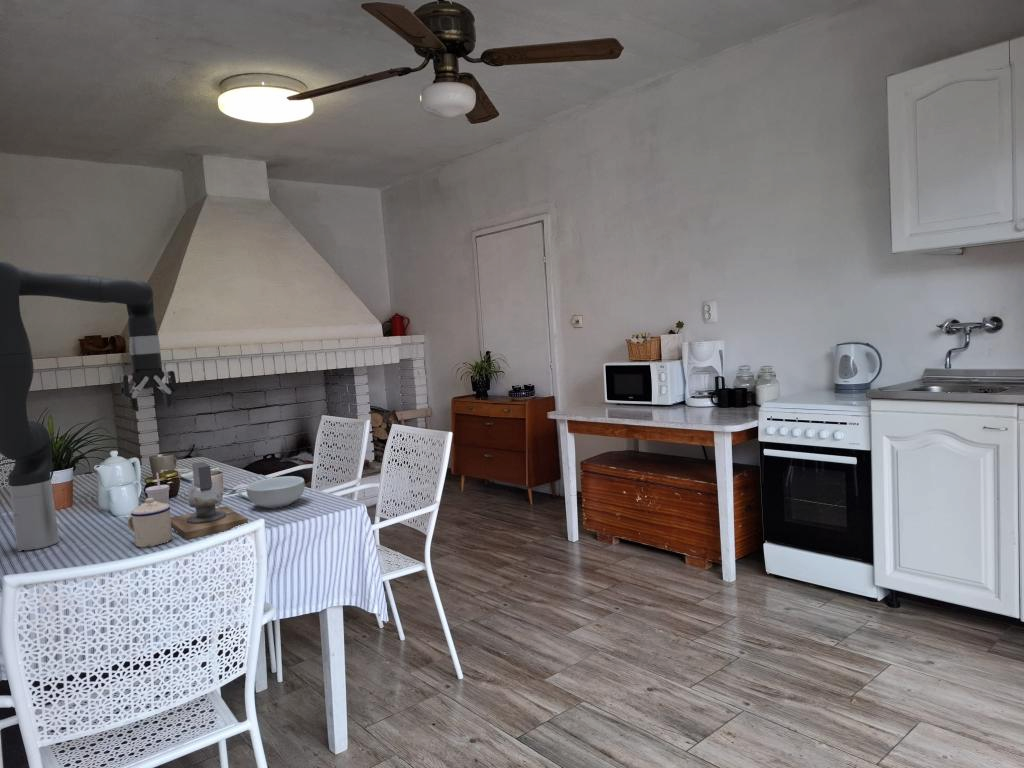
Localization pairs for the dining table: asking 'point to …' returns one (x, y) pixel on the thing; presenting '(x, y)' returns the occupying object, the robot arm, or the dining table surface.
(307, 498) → the dining table surface
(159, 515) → the teacup with lid
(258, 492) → the cereal bowl
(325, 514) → the dining table surface
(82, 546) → the dining table surface
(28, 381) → the robot arm
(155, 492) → the smoothie
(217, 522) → the lock base
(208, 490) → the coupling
